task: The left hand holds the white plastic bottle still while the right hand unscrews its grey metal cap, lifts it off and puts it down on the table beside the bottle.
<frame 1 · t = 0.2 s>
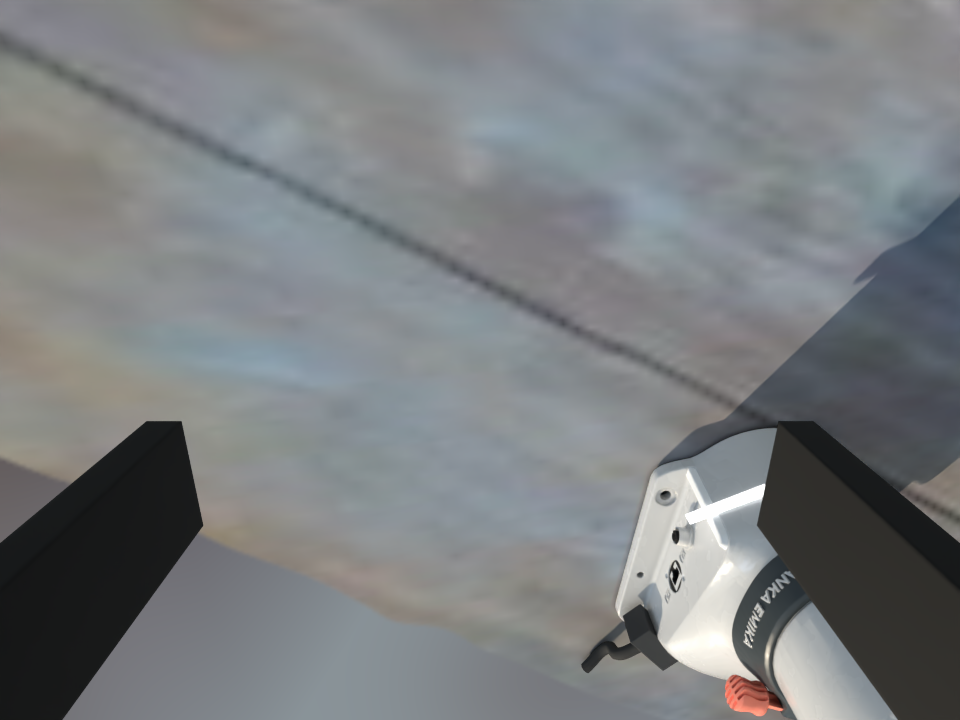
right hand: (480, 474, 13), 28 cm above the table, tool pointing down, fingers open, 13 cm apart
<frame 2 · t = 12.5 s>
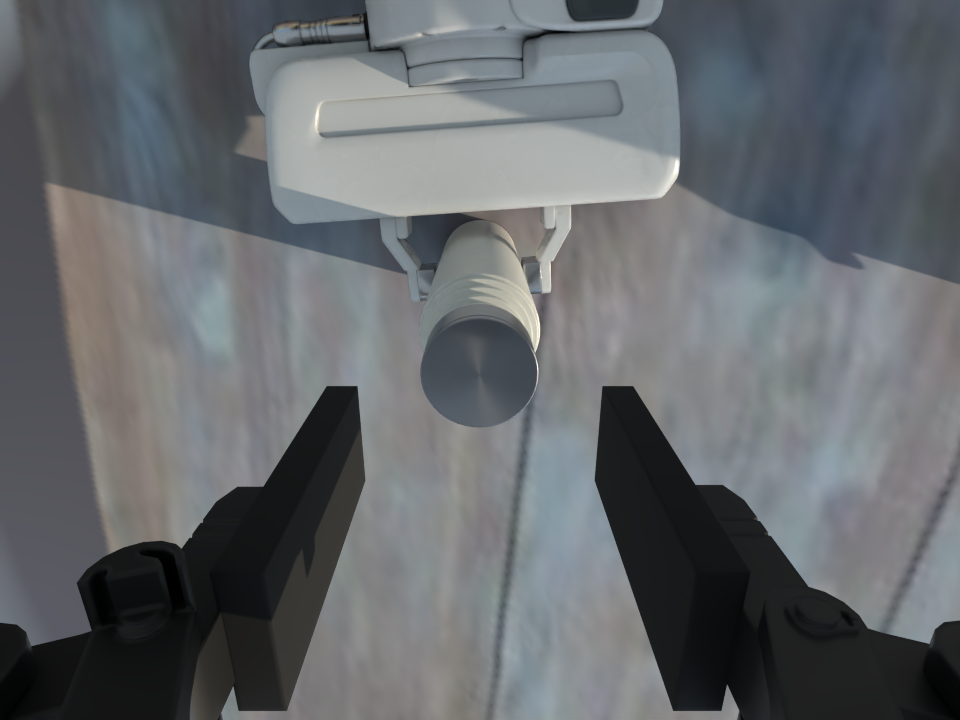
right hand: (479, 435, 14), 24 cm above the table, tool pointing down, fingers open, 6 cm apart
left hand: (481, 295, 31), fingers closed on bottle, 5 cm apart
cap: (479, 371, 18), point 20 cm above the table, screwed on, not yet turned
bottle: (479, 256, 37), on the table, touching left hand
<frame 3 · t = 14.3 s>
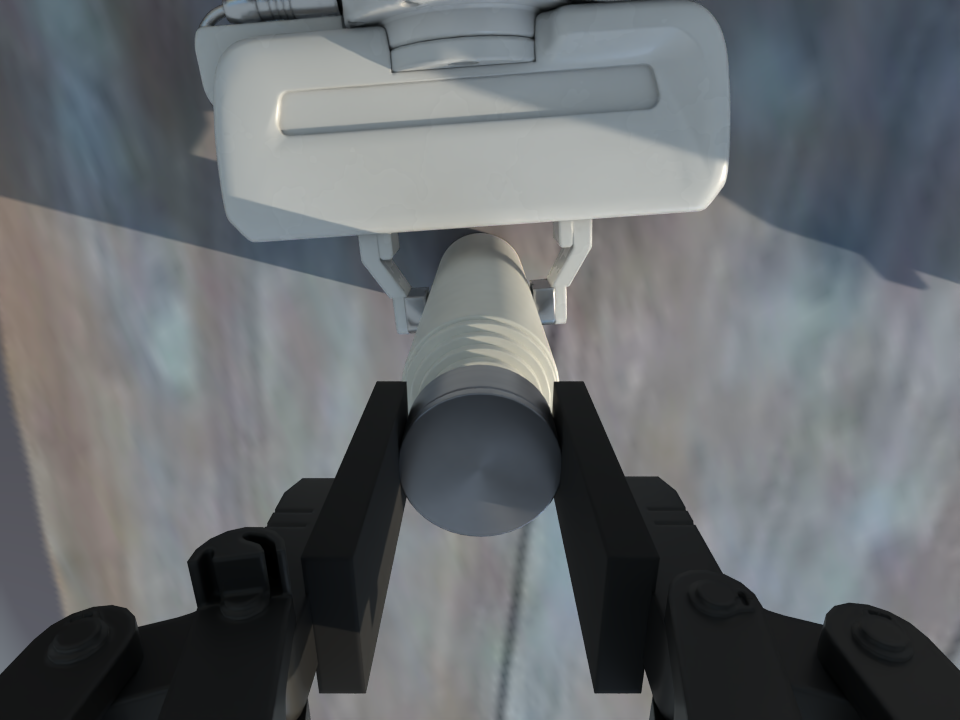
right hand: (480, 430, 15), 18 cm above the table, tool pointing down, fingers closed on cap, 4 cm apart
left hand: (482, 325, 26), fingers closed on bottle, 5 cm apart
cap: (480, 462, 13), point 20 cm above the table, screwed on, not yet turned, touching right hand
bottle: (480, 275, 32), on the table, touching left hand
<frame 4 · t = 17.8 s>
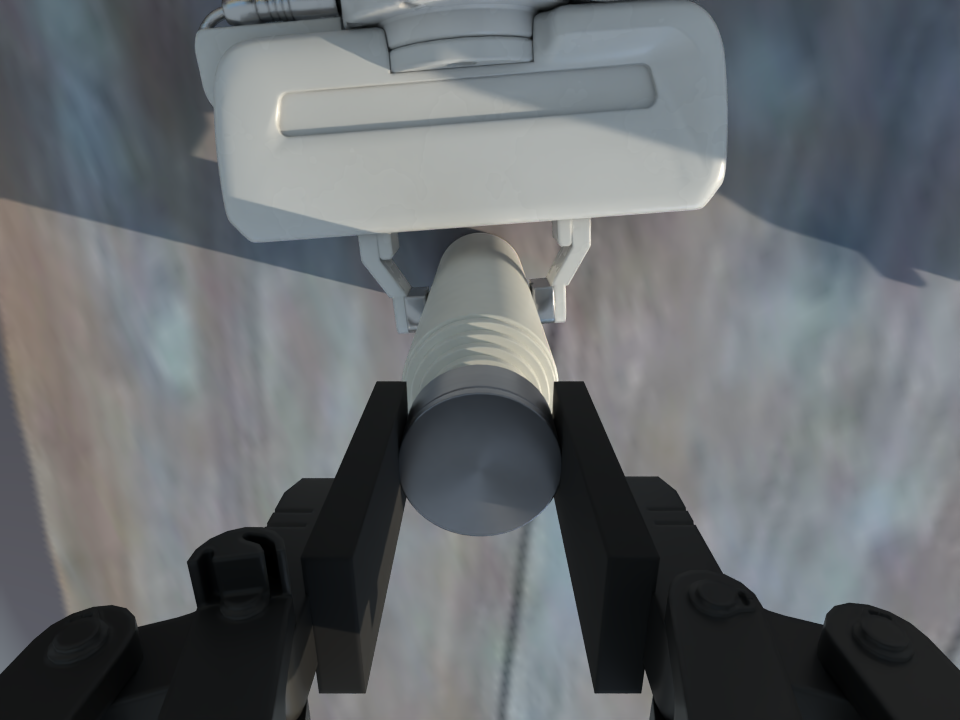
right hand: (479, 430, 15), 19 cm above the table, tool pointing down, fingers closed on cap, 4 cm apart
left hand: (482, 324, 26), fingers closed on bottle, 5 cm apart
cap: (480, 461, 13), point 20 cm above the table, turned 122° so far, risen 0.1 cm, still on its thread, touching right hand
bottle: (480, 275, 32), on the table, touching left hand
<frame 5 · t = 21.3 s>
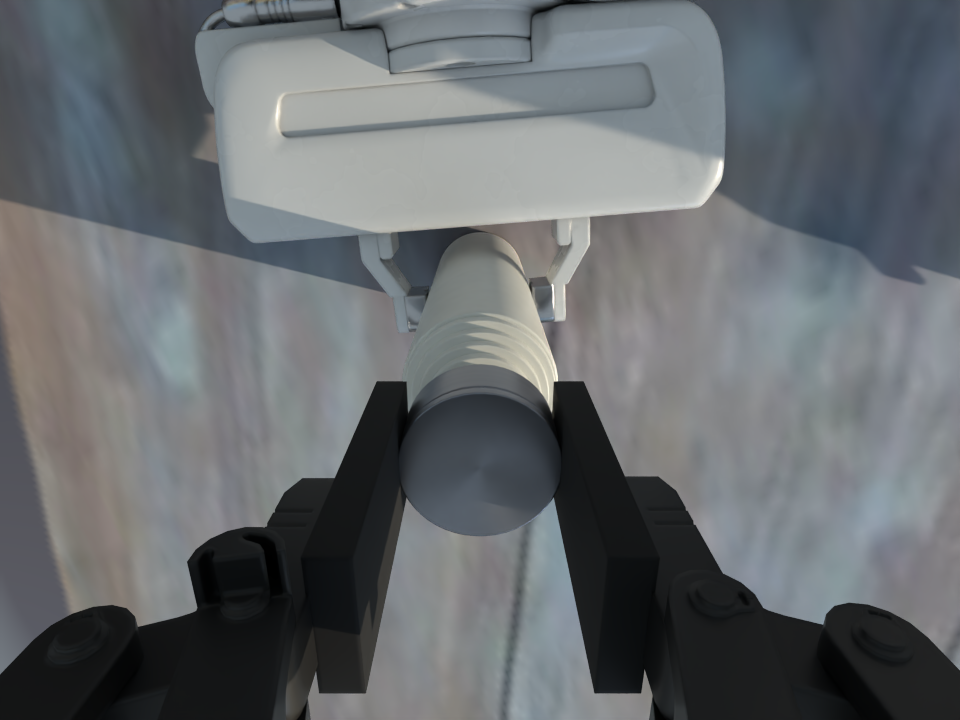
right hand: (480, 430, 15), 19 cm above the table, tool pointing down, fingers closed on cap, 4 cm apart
left hand: (482, 323, 26), fingers closed on bottle, 5 cm apart
cap: (480, 461, 13), point 20 cm above the table, turned 243° so far, risen 0.2 cm, still on its thread, touching right hand
bottle: (480, 274, 32), on the table, touching left hand
when the right hand's fingers open (2 cm above the table, at t = 31.0 s): cap drops 2 cm, point 1 cm above the table.
when the left hand's fingers open (7 cm above the table, at t = 32.3 s): bottle stays where it is, on the table.
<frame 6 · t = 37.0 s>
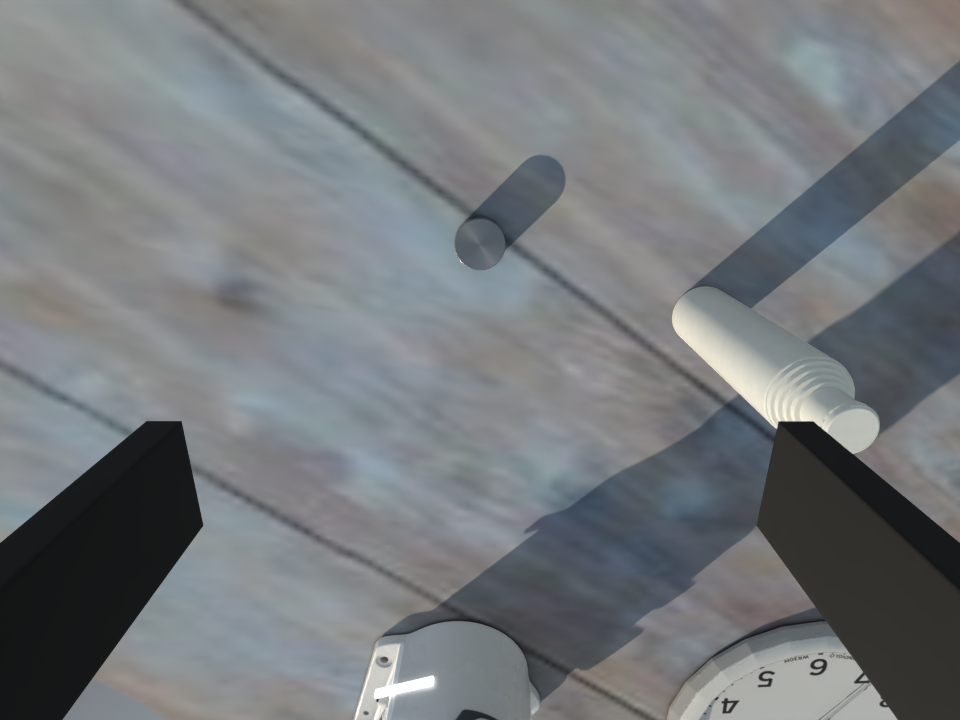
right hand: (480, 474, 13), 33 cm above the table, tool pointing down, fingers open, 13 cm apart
cap: (479, 244, 42), point 1 cm above the table, off its thread
bottle: (701, 314, 46), on the table
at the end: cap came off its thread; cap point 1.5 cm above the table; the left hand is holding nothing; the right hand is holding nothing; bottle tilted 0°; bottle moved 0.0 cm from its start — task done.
